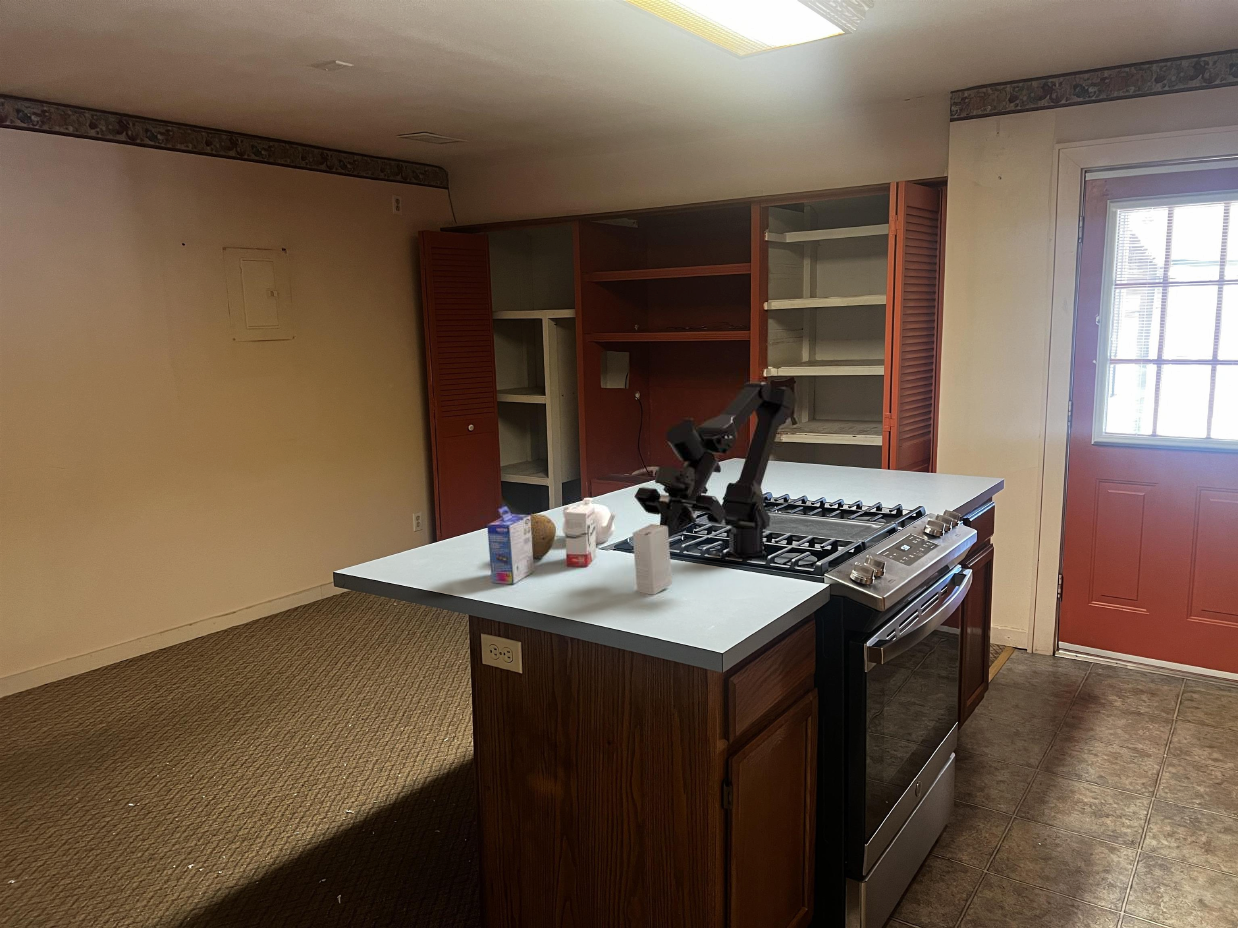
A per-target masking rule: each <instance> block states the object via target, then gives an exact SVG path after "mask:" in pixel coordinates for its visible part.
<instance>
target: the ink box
mask: <svg viewBox="0 0 1238 928" xmlns="http://www.w3.org/2000/svg"><path fill="white" fill-rule="evenodd" d="M569 507H570V508H569V509H568V510H566V511H565V512H566V513H565V519H564V520H565V533H566V536H565V553H566V554H565V560H566V561H565V564H566V565H565V566H566V567H589V565H590V564H591V563H592V562H593V561H594V560H595V558H597V546H596V545H597V544H596V537H595V506H586V505H582V504H573V505H571V506H569Z"/></svg>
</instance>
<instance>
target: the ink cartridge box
mask: <svg viewBox="0 0 1238 928" xmlns="http://www.w3.org/2000/svg"><path fill="white" fill-rule="evenodd" d="M497 511H498V513H499V515H500V517H501V518H500V517H499V518H498V519H496V520H495V521H493V522H490V523H489V524H487V526H486V527H487V540H488V553H489V554H488V555H489V563H490V574H491V576H490V577H491V583H492V582H493V583H494V584H495V583H496V584H503V585H504V584H505V585H515V584H516V583H518V582H519V581H521V580H523V579H524V578H526V577H527V576H528V575H530V574H532V573H533V572H534V569H535V568H534V557H533V552H532V536H531V521H530V515H531V514H515V513H513V514H512V513H511V511H510V509H509V508H508V507H507V506H502V507H501V508H498V509H497ZM504 511H506V512H507V513H505V514H503V512H504ZM493 583H492V584H493Z"/></svg>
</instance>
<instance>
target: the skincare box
mask: <svg viewBox="0 0 1238 928" xmlns="http://www.w3.org/2000/svg"><path fill="white" fill-rule="evenodd" d="M669 539H670V537H669V536H668V527H667V526H663V525H660V524H653V523H650V524H648V525H647V526H644V527H641V528H640V529H638V530H636V531H634V532H632V541H633V554H634V555H633V556H634V568H635V578H636V590H637V592H639V593H643V594H647V595H656V594H658V593H660V592H662V591H663V590H664V589H666V588H668V587H670V586H671V585H673V576H672V565H671V564H672V563H671V554H670V553H671V551H670V541H669Z"/></svg>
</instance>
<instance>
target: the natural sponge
mask: <svg viewBox="0 0 1238 928" xmlns="http://www.w3.org/2000/svg"><path fill="white" fill-rule="evenodd" d="M529 515H530V521H531V536H532V552H533V559H542V558H544V557H545V556H546V555H547V554H549V552H550V551H551V550H552V548H553V545H554V542H555V540H556V539H555V538H556V535H557V527H556V525H555V523H554V522H553V520H551V519H550V517H548V516H547V515H544V514H541V513H531V514H529Z"/></svg>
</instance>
